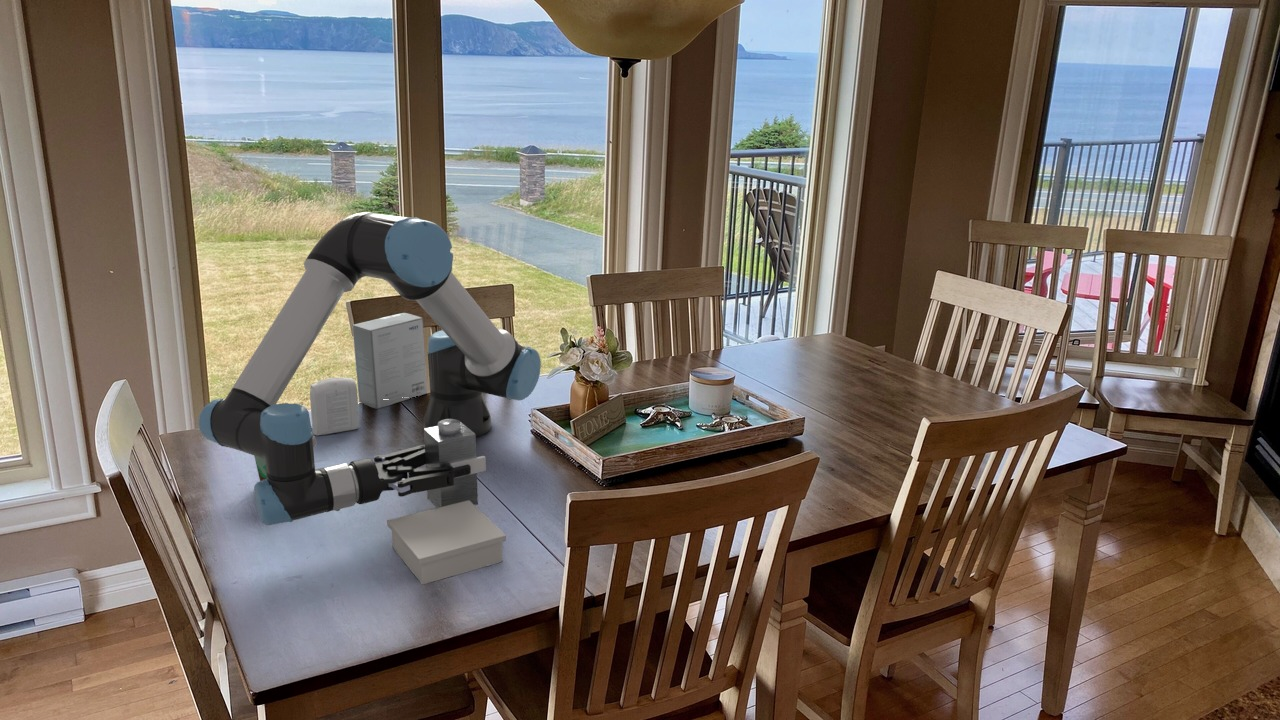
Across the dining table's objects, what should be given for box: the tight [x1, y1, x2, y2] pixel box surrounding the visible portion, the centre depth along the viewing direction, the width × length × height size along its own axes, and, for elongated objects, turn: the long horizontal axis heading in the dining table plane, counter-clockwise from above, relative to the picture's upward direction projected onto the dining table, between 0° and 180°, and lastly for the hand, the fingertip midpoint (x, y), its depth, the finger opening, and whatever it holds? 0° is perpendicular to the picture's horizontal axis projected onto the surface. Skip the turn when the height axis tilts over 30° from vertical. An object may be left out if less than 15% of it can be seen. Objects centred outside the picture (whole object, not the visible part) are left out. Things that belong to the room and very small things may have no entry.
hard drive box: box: [351, 312, 428, 410], centre depth 223 cm, size 16×8×20 cm, turn 141°
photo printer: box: [309, 376, 360, 436], centre depth 204 cm, size 10×4×12 cm, turn 123°
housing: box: [423, 419, 479, 508], centre depth 167 cm, size 7×7×16 cm
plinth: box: [386, 500, 507, 585], centre depth 154 cm, size 15×15×5 cm
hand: (475, 455), depth 169 cm, fingers closed on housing, 7 cm apart
